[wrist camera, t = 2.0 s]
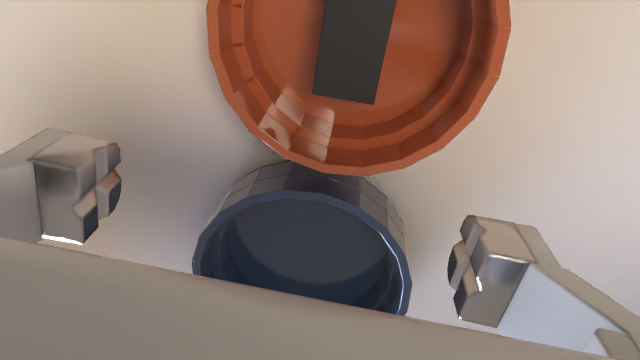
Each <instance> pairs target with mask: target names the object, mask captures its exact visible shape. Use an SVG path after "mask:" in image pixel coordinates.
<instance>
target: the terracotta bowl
mask: <svg viewBox="0 0 640 360" xmlns="http://www.w3.org/2000/svg"><path fill="white" fill-rule="evenodd" d="M325 3H326V0H208V3H207V9H206V10H207V26H208V42H209V54H210V58H211V61H212V64H213V66H214V69H215V72H216V74H217V77H218V80H219V83H220V85H221V88H222V91H223V93H224V96H225V97H226V98H225V99H226V100H227V101H228V103H229V104H230V105H231V107H232V108H233V109H234V111H235V112H236V113H237V115H238V116H239V117H240V119H241V120H242V121H243V123H244V124H245V126H246V127H247V128H248V130H249V131H250V132H251V133H252V134H253V135H255V136H256V137H257V138H259V139H260V140H261V141H263V142H264V143H265V144H267V145H268V146H269V147H271V148H272V149H273V150H274V151H276V152H277V153H278V154H280V155H281V156H282V157H285V158H286V159H288V160H291V161H294V162H296V163H299V164H301V165H304V166H307V167H309V168H312V169H314V170H317V171H320V172H323V173H331V174H342V175H354V176H368V175H373V174H378V173H383V172H388V171H393V170H398V169H403V168H406V167H408V166H409V165H411V164H413V163H415V162H417V161H419V160H421V159H423V158H425V157H427V156H429V155H431V154H433V153H435V152H437V151H439V150H441V149H442V148H444V147H445V146H446V145H447V144H448V143H449V142H450V141H451V140H452V139H453V138H454V137H455V136H456V135H458V134H459V133H460V132H461V131H462V130H463V129H464V128H465V127H466V126H467V125H468V124H469V123H470V122H471V121H472V120H473V119H475V117H476V116H477V114H478V113H479V111H480V109H481V107H482V106H483V104H484V102H485V101H486V99H487V97H488V95H489V94H490V92H491V90H492V89H493V87H494V85H495V83H496V82H497V80H498V78H499V76H500V73H501V68H502V64H503V60H504V56H505V51H506V47H507V43H508V39H509V34H510V30H511V28H510V27H511V20H510V8H509V0H397V2H396V6H395V11H394V15H393V20H392V25H391V29H390V34H389V38H388V43H387V47H386V52H385V56H384V61H383V66H382V70H381V75H380V79H379V84H378V88H377V93H376V97H375V102H374V105H370V104H365V103H359V102H354V101H348V100H343V99H337V98H332V97H326V96H320V95H315V94H312V89H313V83H314V76H315V70H316V63H317V56H318V50H319V43H320V36H321V30H322V23H323V16H324V10H325Z"/></svg>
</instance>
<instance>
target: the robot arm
mask: <svg viewBox="0 0 640 360" xmlns="http://www.w3.org/2000/svg"><path fill="white" fill-rule="evenodd" d="M120 162H121V158H120V148H119V146H118V145H117V143H115V142H110V141H106V140H101V139H97V138H92V137H88V136H83V135H79V134H73V133H72V132H66V131H60V130H54V129H45V130H43V131H42V132H40V133H38V134H37V135H35V136H33V137H31V138H30V139H28V140H26V141H24V142H23V143H21V144H19V145H18V146H16V147H14V148H12V149H11V150H9V151H7V152H6V153H4V154H2V155H0V360H640V318H639V317H637V316H636V315H634V314H633V313H631V312H630V311H628V310H627V309H626V308H624V307H623V306H621V305H620V304H618V303H617V302H615V301H614V300H612V299H611V298H609V297H608V296H606V295H605V294H603V293H602V292H600V291H599V290H598V289H596V288H595V287H593V286H592V285H590V284H589V283H587V282H586V281H584V280H583V279H581V278H580V277H578V276H577V275H575V274H574V273H572V272H571V271H570V270H567V269H562V268H561V267H560V265H559V264H558V262H557V260H556V259H555V257H554V256H553V254H552V252H551V251H550V249H549V248H548V246H547V244H546V243H545V241H544V240H543V238H542V236H541V235H540V233H539V232H538V230H537V229H536V228H535V227H533V226H529V225H523V224H516V223H513V222H508V221H502V220H496V219H491V218H485V217H480V216H474V215H468V216H467V217H466V218H465V220H464V221H463V224H462V226H461V228H460V233H461V236H462V239H463V240H461V241H460V242H458V243H457V244H456V245H454V246H453V249H452V251H451V254H450V257H449V262H448V269H447V270H448V280H449V284H450V286H452V287H453V288H454V289H455V290H456V293H455V295H454V297H453V299H454V303H455V307H456V310H457V314H458V318H459V320H464V321H468V322H473V323H477V324H481V325H486V326H490V327H495V328H497V329H496V330H497V331H498V332H499V333H500V334H501V335H502V336H501V335H496V334H491V333H486V332H481V331H476V330H471V329H466V328H461V327H456V326H451V325H445V324H440V323H435V322H430V321H425V320H420V319H415V318H410V317H405V316H400V315H395V314H390V313H385V312H380V311H375V310H370V309H365V308H360V307H355V306H350V305H345V304H340V303H335V302H330V301H324V300H319V299H314V298H309V297H304V296H299V295H294V294H289V293H284V292H279V291H274V290H269V289H264V288H259V287H254V286H249V285H244V284H239V283H234V282H229V281H224V280H219V279H214V278H209V277H204V276H199V275H194V274H189V273H183V272H178V271H173V270H168V269H163V268H158V267H153V266H148V265H143V264H138V263H133V262H128V261H123V260H118V259H113V258H108V257H103V256H98V255H93V254H88V253H83V252H78V251H73V250H68V249H63V248H58V247H53V246H48V245H42V244H37V243H35V242H38V241H40V240H42V238H48V239H54V240H59V241H65V242H71V243H77V244H83V243H84V242H85V241H86V240H87V239H88V238H89V237H90V236H91V235H92V234H93V232H94V231H95V230H96V229H97V228H98V220H99V219H102V218H105V217H108V216H109V215H110V214H111V213H112V212H113V210H114V209H115V207H116V205H117V203H118V200H119V198H120V192H121V178H120V176H119V175H118V174H117V172H116V171H115V169H114V168H115V167H116V166H117V165H118V164H119V163H120Z"/></svg>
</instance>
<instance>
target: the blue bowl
mask: <svg viewBox="0 0 640 360" xmlns="http://www.w3.org/2000/svg"><path fill="white" fill-rule="evenodd" d="M192 268H193V274H194V275H199V276H204V277H209V278H214V279H219V280H224V281H229V282H234V283H239V284H244V285H249V286H254V287H259V288H264V289H269V290H274V291H279V292H284V293H289V294H294V295H299V296H304V297H309V298H314V299H319V300H324V301H330V302H335V303H340V304H345V305H350V306H355V307H360V308H365V309H370V310H375V311H380V312H385V313H390V314H395V315H400V316H405V314H406V313H407V311H408V306H409V300H410V295H411V289H412V277H411V269H410V261H409V253H408V245H407V241H406V236H405V232H404V227H403V223H402V220H401V218H400V216H399V215H398V213H397V212H396V210H395V209H394V207H393V206H392V204H391V203H390V201H389V200H388V198H387V197H386V196H385V195H384V194H383V193H382V192H381V191H379V190H378V189H377V188H375V187H374V186H373V185H372V184H370V183H369V182H368V181H367V180H365V179H364V178H363V177H361V176H354V175H342V174H331V173H323V172H320V171H317V170H314V169H312V168H309V167H307V166H304V165H301V164H299V163H296V162H294V161H289V162H284V163H279V164H275V165H270V166H265V167H261V168H259V169H258V170H256V171H254V172H253V173H251V174H249V175H247V176H246V177H244V178H242V179H240V180H239V181H237V182H236V183H235V184H234V185H233V186H232V188H231V189H230V190H229V191H228V192H227V194H226V195H225V196H224V197H223V198H222V200H221V201H220V202H219V204H218V205H217V207H216V209H215V210H214V212H213V214H212V216H211V217H210V219H209V221H208V222H207V224H206V226H205V228H204V229H203V231H202V233H201V234H200V236H199V240H198V243H197V246H196V249H195V253H194V256H193V259H192Z"/></svg>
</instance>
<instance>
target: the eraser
mask: <svg viewBox="0 0 640 360" xmlns="http://www.w3.org/2000/svg"><path fill="white" fill-rule="evenodd" d="M396 2H397V0H326V3H325V10H324V16H323V23H322V30H321V36H320V43H319V50H318V56H317V63H316V70H315V76H314V83H313V89H312V94H315V95H320V96H326V97H332V98H337V99H343V100H348V101H354V102H359V103H365V104H370V105H374V102H375V97H376V93H377V88H378V84H379V79H380V75H381V70H382V66H383V61H384V56H385V52H386V47H387V43H388V38H389V34H390V29H391V25H392V20H393V15H394V11H395V6H396Z"/></svg>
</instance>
